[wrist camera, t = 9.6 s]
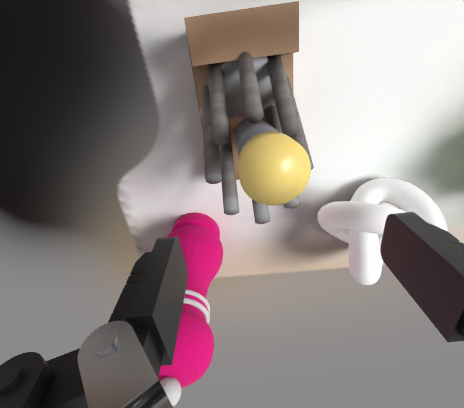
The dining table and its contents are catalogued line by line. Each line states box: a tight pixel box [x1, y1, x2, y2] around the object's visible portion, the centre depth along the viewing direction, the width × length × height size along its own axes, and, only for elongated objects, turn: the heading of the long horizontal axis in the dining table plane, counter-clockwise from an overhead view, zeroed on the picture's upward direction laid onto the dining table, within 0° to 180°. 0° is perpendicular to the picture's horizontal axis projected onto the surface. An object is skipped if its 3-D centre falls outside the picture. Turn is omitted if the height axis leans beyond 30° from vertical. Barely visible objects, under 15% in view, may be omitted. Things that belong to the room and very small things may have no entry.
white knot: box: [318, 178, 447, 285], centre depth 29 cm, size 11×12×9 cm
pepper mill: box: [158, 213, 223, 406], centre depth 25 cm, size 7×7×20 cm
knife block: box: [184, 1, 313, 224], centre depth 22 cm, size 15×9×11 cm, turn 7°
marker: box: [235, 118, 311, 206], centre depth 17 cm, size 3×3×12 cm
